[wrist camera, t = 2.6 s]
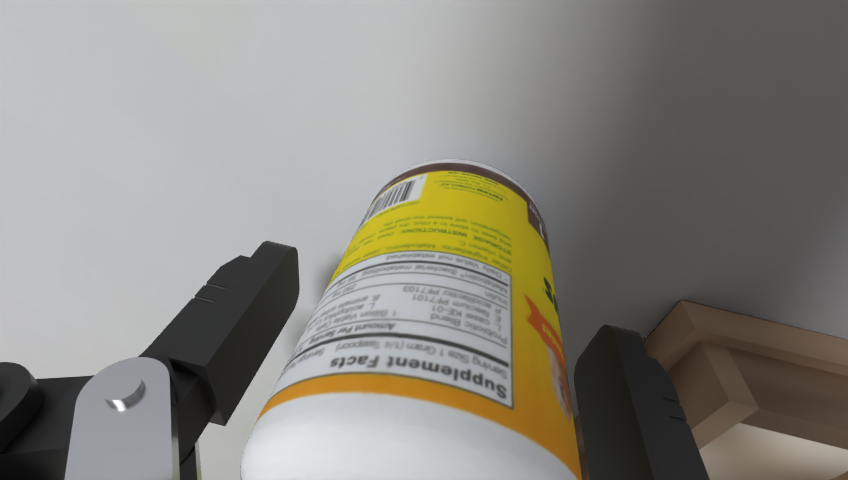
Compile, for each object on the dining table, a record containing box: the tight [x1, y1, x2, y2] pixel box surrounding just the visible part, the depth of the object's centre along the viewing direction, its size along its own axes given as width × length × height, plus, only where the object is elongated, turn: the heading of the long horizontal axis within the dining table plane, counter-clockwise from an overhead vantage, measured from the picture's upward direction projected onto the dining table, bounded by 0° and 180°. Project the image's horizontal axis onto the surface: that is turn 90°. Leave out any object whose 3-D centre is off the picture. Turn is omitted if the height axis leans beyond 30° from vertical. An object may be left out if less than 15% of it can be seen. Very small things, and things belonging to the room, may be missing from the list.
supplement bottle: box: [240, 159, 582, 480], centre depth 8 cm, size 6×6×10 cm
